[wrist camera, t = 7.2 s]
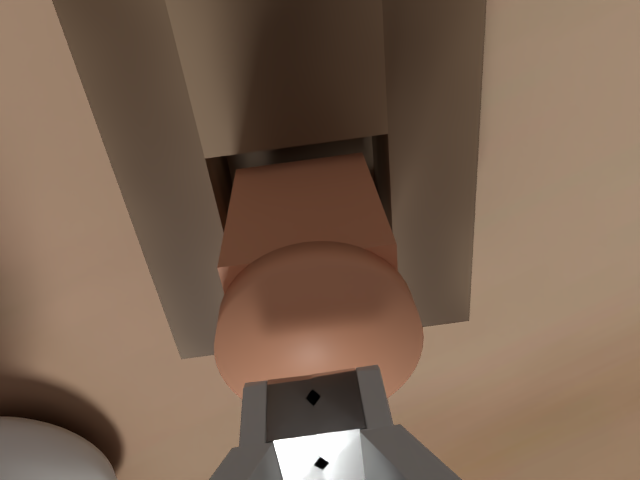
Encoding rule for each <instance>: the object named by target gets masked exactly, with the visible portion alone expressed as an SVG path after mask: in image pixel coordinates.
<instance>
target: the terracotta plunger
mask: <svg viewBox="0 0 640 480" xmlns="http://www.w3.org/2000/svg"><path fill="white" fill-rule="evenodd" d="M217 269H218V273H219V276H220V280H221V284H222V287H223V291H224V296H223V299H222V302H221V305H220V309H219V316H218V322H217V328H216V334H215V341H214V355H215V360H216V364H217V367H218V369H219V372H220V374H221V376H222V378H223V379H224V381H225V382H226V384H227V385H228V386H229V387H230V388H231V390H232V391H233V392H234V393H235V394H237V395H238V396H239V397H240V398H241V399H242V397H243V388H244V385H245V383H248V382H256V381H265V380H270V379H279V378H288V377H297V376H305V375H312V374H317V373H323V372H330V371H336V370H343V369H350V368H355V369H356V368H357V367H364V366H371V365H378V366H379V368H380V371H381V375H382V379H383V384H384V388H385V392H386V396H387V398H388V397H390V396H391V395H392V394H394V393H395V392H396V391H397V390H398V389H399V388H400V387H401V386H402V385H403V384H404V383H405V382H406V381H407V380H408V378H409V377H410V376H411V374H412V373H413V371H414V370H415V368H416V366H417V364H418V361H419V359H420V356H421V352H422V348H423V338H424V336H423V327H422V323H421V320H420V316H419V313H418V311H417V308H416V305H415V302H414V300H413V297H412V294H411V292H410V289H409V287H408V285H407V283H406V282H405V280H404V279H403V277H402V276H401V274H400V273H399V272H398V264H397V243H396V241H395V238H394V235H393V233H392V230H391V227H390V225H389V222H388V219H387V217H386V214H385V211H384V209H383V206H382V203H381V201H380V198H379V195H378V193H377V190H376V187H375V185H374V182H373V179H372V177H371V174H370V171H369V169H368V166H367V163H366V161H365V158H364V155H363V153H362V152H361V153H353V154H346V155H338V156H331V157H323V158H316V159H309V160H301V161H294V162H286V163H279V164H271V165H264V166H256V167H249V168H242V169H236V172H235V177H234V182H233V187H232V193H231V198H230V203H229V208H228V214H227V219H226V224H225V229H224V235H223V240H222V245H221V251H220V256H219V261H218V266H217Z"/></svg>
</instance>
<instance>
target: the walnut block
mask: <svg viewBox="0 0 640 480" xmlns="http://www.w3.org/2000/svg"><path fill="white" fill-rule="evenodd" d="M52 1H53V4H54V7H55V10H56V13H57V15H58V18H59V21H60V24H61V26H62V29H63V32H64V35H65V38H66V40H67V43H68V46H69V49H70V51H71V54H72V57H73V60H74V63H75V65H76V68H77V71H78V74H79V76H80V79H81V82H82V85H83V88H84V90H85V93H86V96H87V99H88V101H89V104H90V107H91V110H92V113H93V115H94V118H95V121H96V124H97V126H98V129H99V132H100V135H101V138H102V140H103V143H104V146H105V149H106V151H107V154H108V157H109V160H110V163H111V165H112V168H113V171H114V174H115V176H116V179H117V182H118V185H119V188H120V190H121V193H122V196H123V199H124V201H125V204H126V207H127V210H128V212H129V215H130V218H131V221H132V224H133V226H134V229H135V232H136V235H137V237H138V240H139V243H140V246H141V249H142V251H143V254H144V257H145V260H146V262H147V265H148V268H149V271H150V274H151V276H152V279H153V282H154V285H155V287H156V290H157V293H158V296H159V299H160V301H161V304H162V307H163V310H164V312H165V315H166V318H167V321H168V324H169V326H170V329H171V332H172V335H173V337H174V340H175V343H176V346H177V349H178V351H179V354H180V357H181V359H186V358H193V357H201V356H208V355H214V341H215V334H216V328H217V322H218V316H219V309H220V305H221V302H222V299H223V296H224V291H223V287H222V284H221V280H220V276H219V273H218V269H217V266H218V261H219V256H220V251H221V245H222V240H223V235H224V229H225V224H226V219H227V214H228V208H229V203H230V198H231V193H232V187H233V182H234V177H235V172H236V169H242V168H249V167H256V166H264V165H271V164H279V163H286V162H294V161H301V160H309V159H316V158H323V157H331V156H338V155H346V154H353V153H361V152H362V153H363V155H364V158H365V161H366V163H367V166H368V169H369V171H370V174H371V177H372V179H373V182H374V185H375V187H376V190H377V193H378V195H379V198H380V201H381V203H382V206H383V209H384V211H385V214H386V217H387V219H388V222H389V225H390V227H391V230H392V233H393V235H394V238H395V241H396V243H397V264H398V272H399V273H400V274H401V276H402V277H403V279H404V280H405V282H406V283H407V285H408V287H409V289H410V292H411V294H412V297H413V300H414V302H415V305H416V308H417V311H418V313H419V316H420V320H421V323H422V327H426V326H434V325H441V324H449V323H456V322H464V321H469V313H470V294H471V276H472V257H473V239H474V220H475V202H476V183H477V165H478V147H479V128H480V110H481V91H482V73H483V54H484V36H485V17H486V0H52Z"/></svg>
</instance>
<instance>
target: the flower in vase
mask: <svg viewBox="0 0 640 480" xmlns="http://www.w3.org/2000/svg"><path fill="white" fill-rule="evenodd" d="M0 480H117V477H116V475H115V472H114V470H113V467H112V465H111V464H110V462H109V460H108V459H107V458H106V456H105V455H104V454H103V453H102V452H101V451H100V450H99V449H98V448H97V447H96V446H94V445H93V444H92V443H90V442H89V441H87V440H86V439H84V438H83V437H81V436H79V435H77V434H75V433H73V432H71V431H69V430H67V429H64V428H62V427H59V426H56V425H53V424H50V423H46V422H42V421H38V420H33V419H27V418H19V417H0Z"/></svg>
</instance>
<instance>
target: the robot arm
mask: <svg viewBox="0 0 640 480" xmlns="http://www.w3.org/2000/svg"><path fill="white" fill-rule="evenodd" d="M209 480H462V479H461V478H459V477H458V476H457V475H456V474H455V473H454V472H453V471H452V470H451V469H449V468H448V467H447V466H446V465H445V464H444V463H443V462H442V461H441V460H439V459H438V458H437V457H436V456H435V455H434V454H433V453H432V452H431V451H429V450H428V449H427V448H426V447H425V446H424V445H423V444H422V443H421V442H419V441H418V440H417V439H416V438H415V437H414V436H413V435H412V434H411V433H409V432H408V431H407V430H406V429H405V428H404V427H403V426H402V425H401V424H399V425H393V421H392V417H391V412H390V408H389V404H388V400H387V396H386V392H385V388H384V384H383V379H382V375H381V371H380V368H379V366H378V365H371V366H364V367H357V368H356V369H355V368H350V369H343V370H336V371H330V372H323V373H317V374H312V375H305V376H297V377H288V378H279V379H270V380H265V381H256V382H248V383H245V385H244V388H243V397H242V411H241V425H240V439H239V447H235V448H232V449H231V450H230V452H229V453H228V454H227V456H226V457H225V458H224V460H223V461H222V463H221V464H220V465H219V467H218V468H217V469H216V471H215V472H214V473H213V475H212V476H211V478H210V479H209Z"/></svg>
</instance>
